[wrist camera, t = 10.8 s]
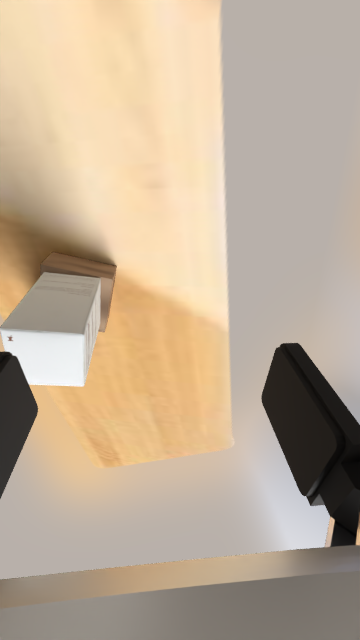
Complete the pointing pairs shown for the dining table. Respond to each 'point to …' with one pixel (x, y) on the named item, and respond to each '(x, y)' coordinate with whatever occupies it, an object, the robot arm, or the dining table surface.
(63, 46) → the dining table surface
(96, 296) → the supplement box
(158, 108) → the dining table surface
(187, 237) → the dining table surface
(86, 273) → the walnut block
